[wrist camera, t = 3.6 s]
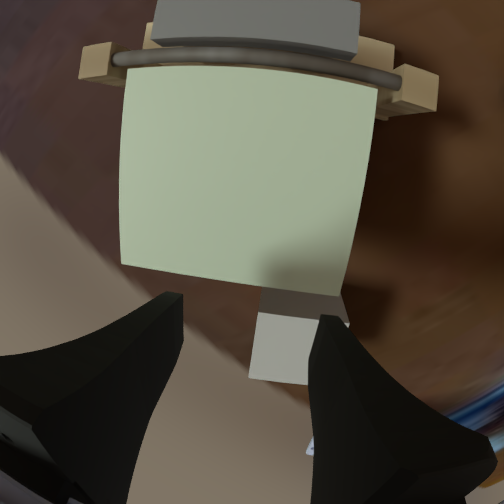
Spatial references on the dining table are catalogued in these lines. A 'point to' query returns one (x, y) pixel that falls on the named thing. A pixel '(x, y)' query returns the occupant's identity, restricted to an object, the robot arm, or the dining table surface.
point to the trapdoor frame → (278, 68)
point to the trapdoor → (246, 149)
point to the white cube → (289, 333)
